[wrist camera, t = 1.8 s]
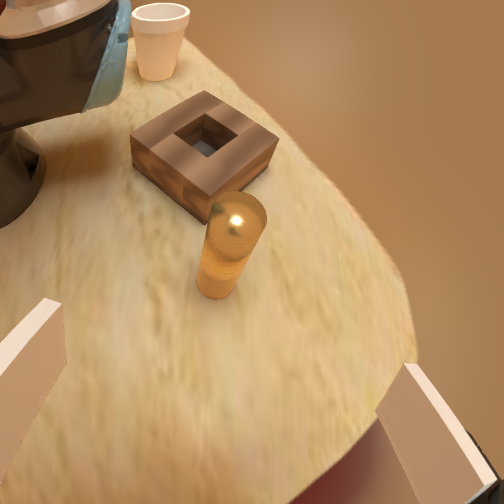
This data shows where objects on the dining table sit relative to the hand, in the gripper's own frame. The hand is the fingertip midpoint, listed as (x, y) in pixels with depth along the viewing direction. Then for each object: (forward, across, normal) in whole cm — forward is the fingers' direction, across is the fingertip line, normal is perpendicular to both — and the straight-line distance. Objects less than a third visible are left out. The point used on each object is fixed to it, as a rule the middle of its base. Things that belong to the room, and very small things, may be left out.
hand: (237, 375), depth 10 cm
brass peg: (+23, 0, -7) cm, 24 cm away
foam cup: (+48, -19, +19) cm, 55 cm away
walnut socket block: (+34, -5, +4) cm, 34 cm away
